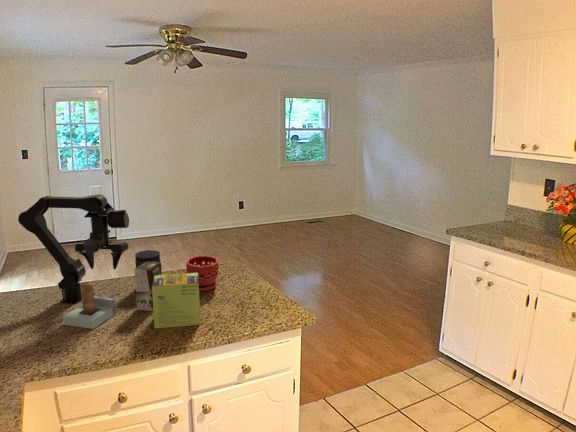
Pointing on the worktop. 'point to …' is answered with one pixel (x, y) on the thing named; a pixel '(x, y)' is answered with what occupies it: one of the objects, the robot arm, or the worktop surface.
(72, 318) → the socket block
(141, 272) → the coffee box
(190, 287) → the protein box
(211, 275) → the plant pot
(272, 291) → the worktop surface
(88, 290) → the peg
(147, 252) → the storage jar
